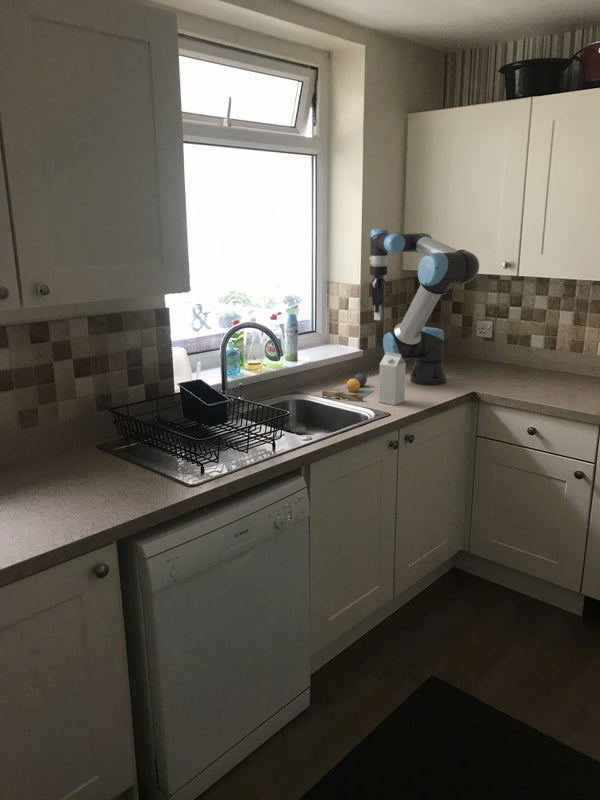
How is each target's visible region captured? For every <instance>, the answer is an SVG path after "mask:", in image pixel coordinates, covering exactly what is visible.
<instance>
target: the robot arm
mask: <svg viewBox="0 0 600 800" xmlns="http://www.w3.org/2000/svg"><path fill="white" fill-rule="evenodd" d="M369 240H370V241H369V242H370V243H369V248H370V249H369V250H370V252H369V254H370V255H369V258H368V260H369V261H370V262H369V264H370V267H369V275H371V276H373V278H372V282H371V283H370V285H371V296H372V297H371V300H372V301H371V302H372V306H374V308H373V311H374V312H373V320H374V321H381V320H382V305H384V295H385V294H384V293H385V285H386V280H385V279H384V276H386V275H388V266H387V265H388V263H389V262H388V261H389V260H388V259H389V257H388V256H389V255H388V253H390V254H397V253H410V252H411V253H416V254H419V255H421V256H423V257H422V258H421V260H420V262H419V264H418V267H417V269H418V271H417V278H418V280H419V281H418V282H419V284H420V285H419V288H418V289H417V291H416V293H415V295H414V297H413V299H412V301H411V303H410V306H409V307H408V309H407V311H406V313H405V315H404V317H403V319H402V321H401V322H400V323H397V325H395V327H394V329H393V331H392V332H391V331H390V332H386V333H385V334H384V336H383V338H382V346H383V351H384V353H385V352H389V353H396V354H401V357H402V359H403V360H404V361H405V360H412V359H413V360H414V365H413V367H412V369H411V373H410V375H409V378H410V382H412V383H414V384H419V385H426V386H427V385H428V386H429V385H430V386H434V385H435V386H436V385H442V384H445V383H446V382H447V374H446V370H445V368H444V348H445V347H444V345H445V344H444V343H445V332H444V330H443V329H441V328H437V327H433V326H432V327H429V326H425V325H426V324H427V321H428V319H429V317H430V316H431V314H432V312H433V310H434V309H435V307H436V305H437V304H438V302H439V299H440V298H441V296H443V295H446V294H447V293H448V291H449V290H450V288H451V286H452V285H461V284H463V285H464V284H466V283H469V282H471V281H473V280H474V279H475V278H476V276H477V275H478V274H479V270H480V262H479V259H478V258H477V255H475V254H474V253H472V252H471V251H468V250H466V249H456V248H454V247H451V246H449V245H448V244H444V243H443V242H440V241H438V240H435V239H433V237H432V235H431V234H430V233H425V232H420V233H417V232H416V233H389V230H388V229H387V228H372V229H371V230H370V237H369Z"/></svg>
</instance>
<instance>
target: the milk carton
mask: <svg viewBox="0 0 600 800" xmlns="http://www.w3.org/2000/svg"><path fill="white" fill-rule="evenodd" d="M406 365H407V362H405V360H403V359H402V357H401V354H396V353H389V352H384V355H383V358H382V359H381V361H380V362H379V376H378V377H379V378H378V379H379V381H378V382H379V383H378V384H379V385H378V387H379V388H378V402H379V403H381V404H385V405H386V404H387V405H392V406H397V405H398V404H401V403H403V402H405V397H406V395H405V394H406Z"/></svg>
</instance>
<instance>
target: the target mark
mask: <svg viewBox="0 0 600 800" xmlns="http://www.w3.org/2000/svg"><path fill="white" fill-rule="evenodd" d="M373 391H374V390H371V389H363V388H362V389H361V388H359V390H358V391H356V392H350V391H348V393H357V394H363V399H364V398H366V396H368V395H370V394H371V393H372V392H373Z"/></svg>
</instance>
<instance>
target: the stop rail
mask: <svg viewBox="0 0 600 800" xmlns="http://www.w3.org/2000/svg"><path fill="white" fill-rule="evenodd" d="M321 392H322V393H321V395H322V396H327V397H335V398H342V399H348V400H347V401H350V400H354V401H353V402H359V401H361V402H362V401H363V400H364V398H363V394H357V393H347V392H338V391H336V390H328V389H327V390H326V389H323V390H322V391H321Z"/></svg>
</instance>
